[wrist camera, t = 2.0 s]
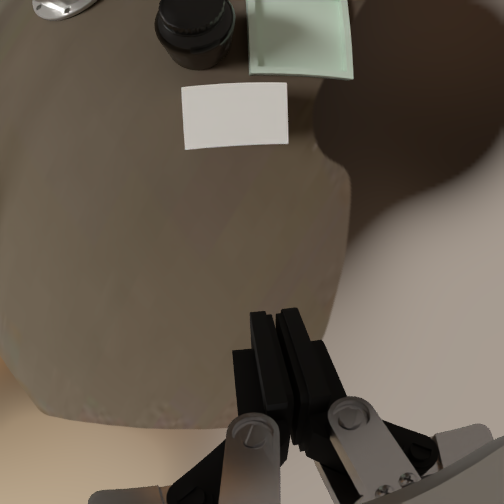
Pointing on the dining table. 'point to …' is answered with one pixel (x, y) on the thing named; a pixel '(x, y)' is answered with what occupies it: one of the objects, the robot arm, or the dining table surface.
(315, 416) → the robot arm
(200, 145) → the unit
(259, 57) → the tray
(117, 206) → the dining table surface
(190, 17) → the supplement bottle
